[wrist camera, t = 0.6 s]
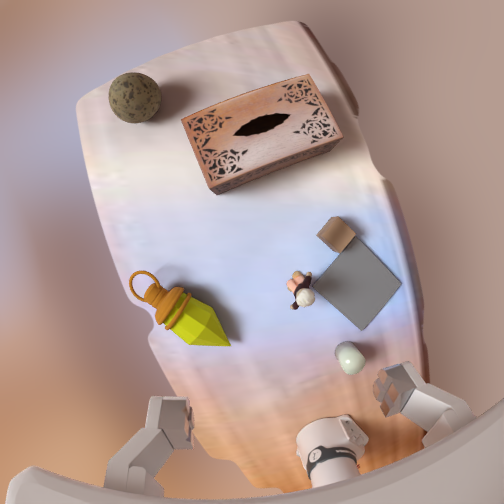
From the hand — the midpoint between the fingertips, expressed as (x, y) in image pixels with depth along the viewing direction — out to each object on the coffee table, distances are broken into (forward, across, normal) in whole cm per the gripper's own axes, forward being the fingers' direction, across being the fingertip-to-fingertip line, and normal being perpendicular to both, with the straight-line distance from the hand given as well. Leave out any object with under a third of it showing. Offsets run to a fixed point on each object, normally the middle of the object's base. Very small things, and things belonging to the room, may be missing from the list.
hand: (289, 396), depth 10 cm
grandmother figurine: (+42, +11, -20) cm, 48 cm away
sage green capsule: (+35, +23, -35) cm, 55 cm away
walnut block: (+44, +20, -10) cm, 49 cm away
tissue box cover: (+52, +6, +9) cm, 53 cm away
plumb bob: (+43, -12, -24) cm, 51 cm away
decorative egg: (+58, -19, +18) cm, 64 cm away
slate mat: (+40, +26, -21) cm, 52 cm away
